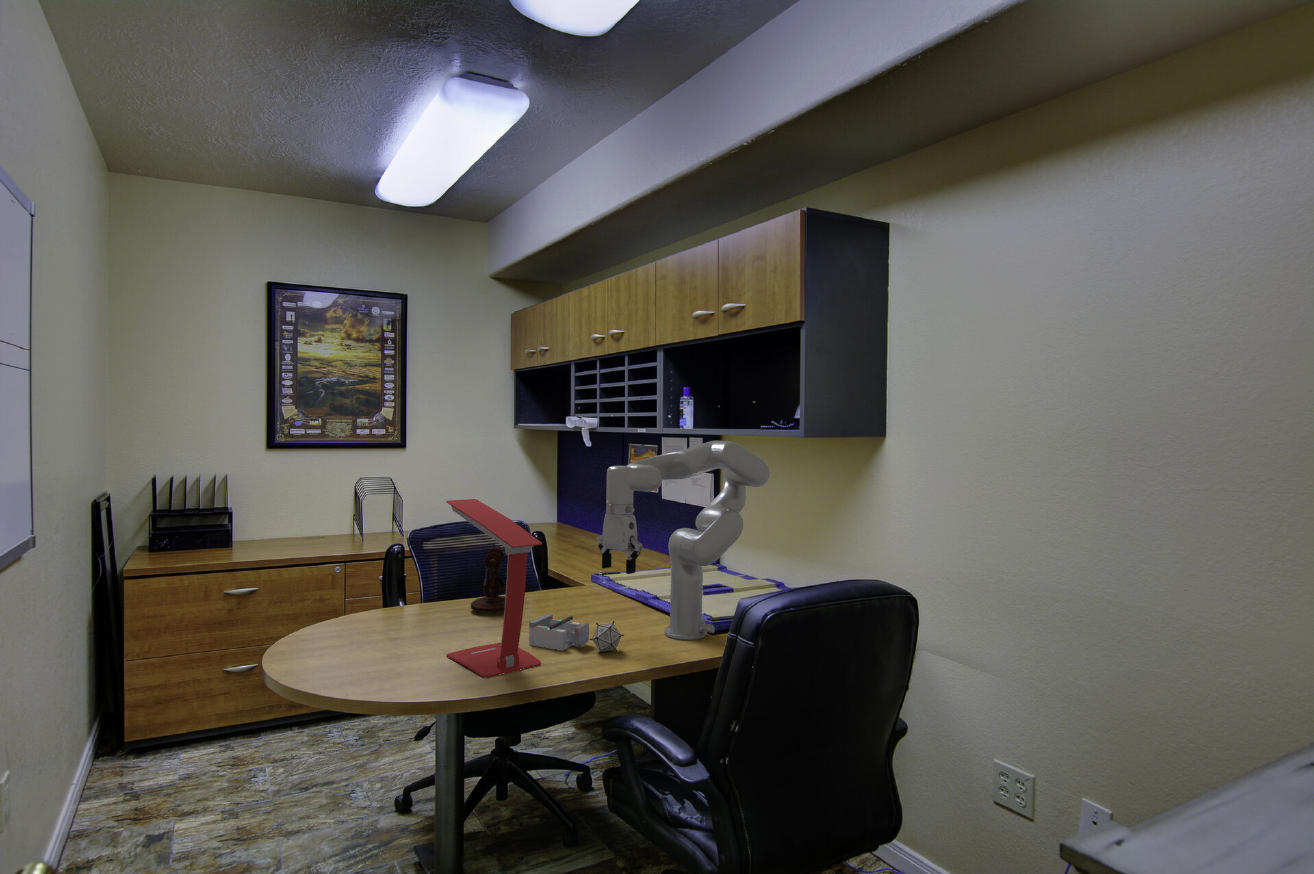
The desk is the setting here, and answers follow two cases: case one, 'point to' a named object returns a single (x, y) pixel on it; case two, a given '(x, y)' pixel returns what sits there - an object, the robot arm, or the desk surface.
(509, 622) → the desk lamp
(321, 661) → the desk surface
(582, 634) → the grey channel block
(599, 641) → the game die
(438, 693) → the desk surface
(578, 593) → the desk surface
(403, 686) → the desk surface
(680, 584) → the robot arm
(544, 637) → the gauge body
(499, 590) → the brown jointed stand
